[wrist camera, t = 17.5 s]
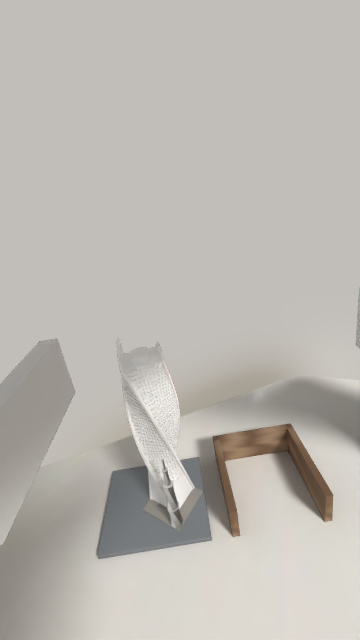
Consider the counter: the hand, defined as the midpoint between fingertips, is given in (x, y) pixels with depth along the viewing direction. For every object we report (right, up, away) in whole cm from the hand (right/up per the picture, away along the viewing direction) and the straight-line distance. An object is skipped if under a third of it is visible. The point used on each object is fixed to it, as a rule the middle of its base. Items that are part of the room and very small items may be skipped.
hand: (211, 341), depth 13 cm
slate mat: (-5, -29, +35) cm, 45 cm away
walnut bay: (+12, -26, +35) cm, 45 cm away
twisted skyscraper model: (-3, -28, +35) cm, 45 cm away
